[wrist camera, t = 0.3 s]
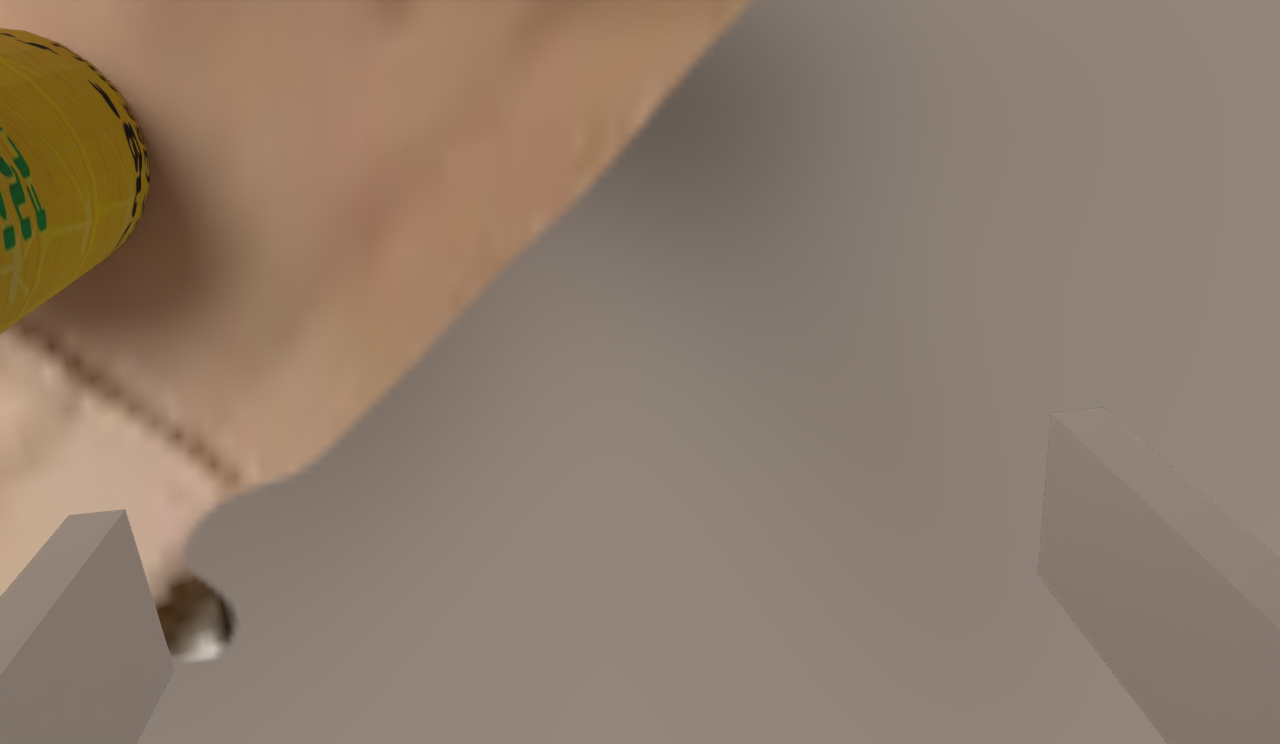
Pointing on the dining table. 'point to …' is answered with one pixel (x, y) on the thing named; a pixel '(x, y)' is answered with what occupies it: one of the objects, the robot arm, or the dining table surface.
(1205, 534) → the robot arm
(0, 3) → the dining table surface
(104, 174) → the beverage can
